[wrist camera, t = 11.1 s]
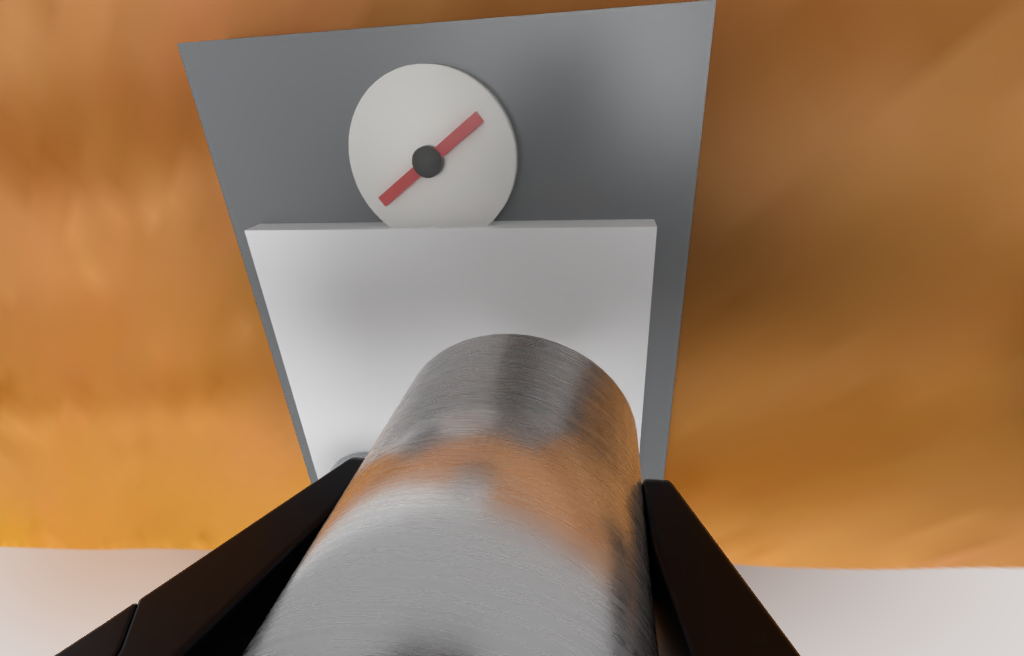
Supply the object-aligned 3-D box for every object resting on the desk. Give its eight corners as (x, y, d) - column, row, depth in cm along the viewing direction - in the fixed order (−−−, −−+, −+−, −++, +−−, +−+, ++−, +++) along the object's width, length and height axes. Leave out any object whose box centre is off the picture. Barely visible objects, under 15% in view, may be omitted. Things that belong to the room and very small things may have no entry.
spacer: (630, 532, 10) (663, 1066, 5) (420, 513, 11) (237, 952, 5) (645, 336, 8) (732, 869, 3) (386, 330, 9) (42, 734, 3)
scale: (700, 10, 13) (725, -7, 10) (649, 528, 21) (655, 589, 19) (225, 47, 15) (150, 41, 13) (347, 501, 24) (317, 553, 21)
